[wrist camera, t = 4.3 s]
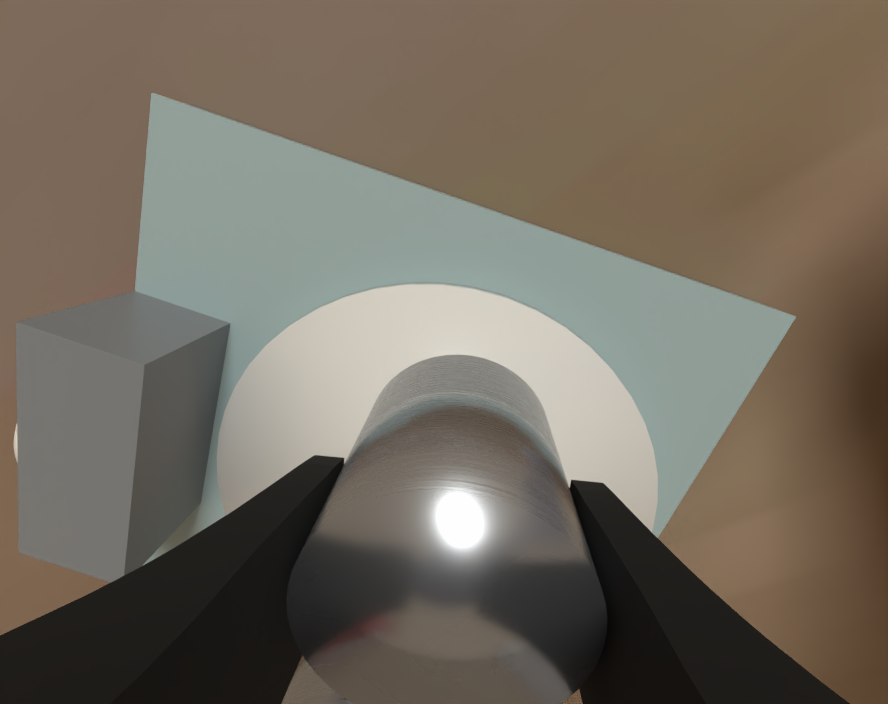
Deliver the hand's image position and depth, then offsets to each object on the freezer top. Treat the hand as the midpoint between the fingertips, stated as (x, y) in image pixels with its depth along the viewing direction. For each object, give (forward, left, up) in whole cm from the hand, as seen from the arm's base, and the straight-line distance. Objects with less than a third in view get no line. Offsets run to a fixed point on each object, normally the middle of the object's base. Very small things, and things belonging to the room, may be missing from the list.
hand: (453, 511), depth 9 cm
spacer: (0, 0, -2) cm, 2 cm away
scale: (+1, +3, -7) cm, 8 cm away
